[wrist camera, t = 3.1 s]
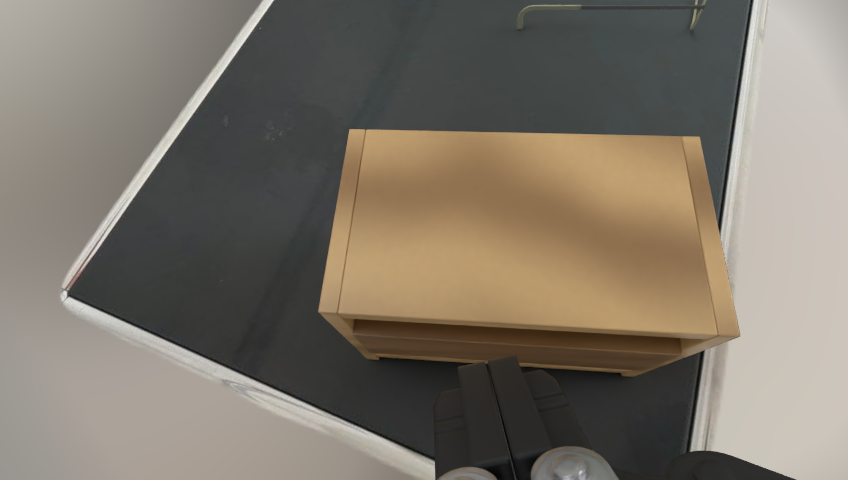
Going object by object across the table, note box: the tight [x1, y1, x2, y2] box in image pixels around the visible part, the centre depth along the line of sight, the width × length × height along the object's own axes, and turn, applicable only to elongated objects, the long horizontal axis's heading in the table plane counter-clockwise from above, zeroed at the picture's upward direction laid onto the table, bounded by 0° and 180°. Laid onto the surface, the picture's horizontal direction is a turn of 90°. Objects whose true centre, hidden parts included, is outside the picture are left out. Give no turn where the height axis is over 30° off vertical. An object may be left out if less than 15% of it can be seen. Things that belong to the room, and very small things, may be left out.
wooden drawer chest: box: [318, 129, 740, 377], centre depth 24 cm, size 9×16×11 cm, turn 86°
